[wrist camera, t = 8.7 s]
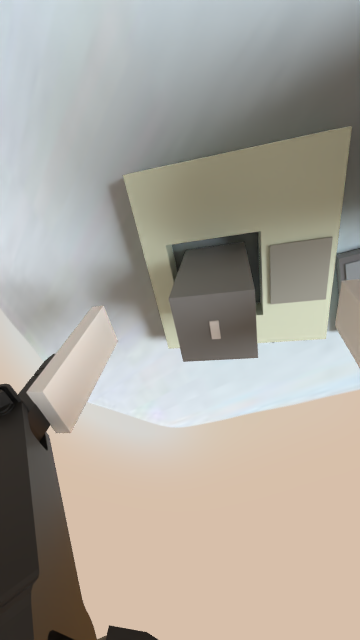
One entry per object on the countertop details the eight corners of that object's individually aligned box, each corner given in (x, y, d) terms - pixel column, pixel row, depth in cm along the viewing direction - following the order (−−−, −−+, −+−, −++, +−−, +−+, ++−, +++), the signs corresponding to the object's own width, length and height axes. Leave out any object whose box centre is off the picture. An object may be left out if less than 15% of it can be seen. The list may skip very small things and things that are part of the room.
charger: (185, 250, 21) (168, 299, 14) (244, 241, 20) (255, 290, 13) (194, 300, 23) (183, 362, 17) (247, 294, 22) (258, 359, 16)
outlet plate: (131, 172, 18) (121, 175, 17) (338, 128, 16) (353, 125, 14) (172, 335, 26) (168, 350, 24) (318, 324, 23) (326, 340, 21)
